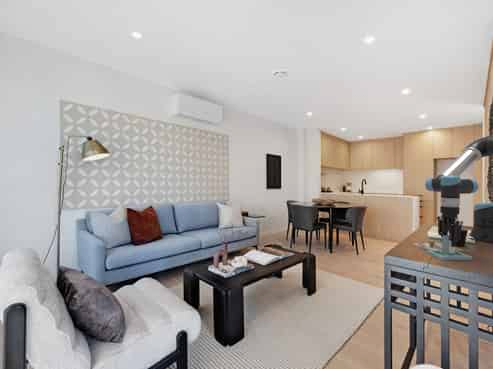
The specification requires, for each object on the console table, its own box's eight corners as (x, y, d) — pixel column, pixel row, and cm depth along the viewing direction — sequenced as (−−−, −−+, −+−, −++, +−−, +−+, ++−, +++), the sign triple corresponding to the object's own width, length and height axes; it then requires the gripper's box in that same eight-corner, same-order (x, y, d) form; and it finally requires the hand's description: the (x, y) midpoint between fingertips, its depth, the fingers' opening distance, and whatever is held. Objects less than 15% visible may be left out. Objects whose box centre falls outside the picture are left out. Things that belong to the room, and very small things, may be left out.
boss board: (443, 244, 142) (443, 237, 142) (464, 252, 128) (464, 244, 128) (412, 244, 143) (413, 237, 142) (430, 252, 129) (430, 245, 128)
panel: (454, 252, 128) (455, 233, 127) (472, 259, 118) (472, 238, 117) (426, 253, 128) (426, 233, 128) (441, 259, 118) (441, 238, 118)
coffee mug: (471, 247, 135) (471, 230, 135) (453, 247, 137) (454, 229, 137) (457, 241, 147) (457, 225, 146) (441, 241, 149) (441, 225, 148)
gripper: (430, 203, 130) (429, 246, 131) (456, 208, 113) (454, 257, 115) (444, 203, 130) (442, 246, 131) (472, 208, 113) (470, 257, 114)
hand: (448, 251), depth 123 cm, fingers closed on panel, 3 cm apart
